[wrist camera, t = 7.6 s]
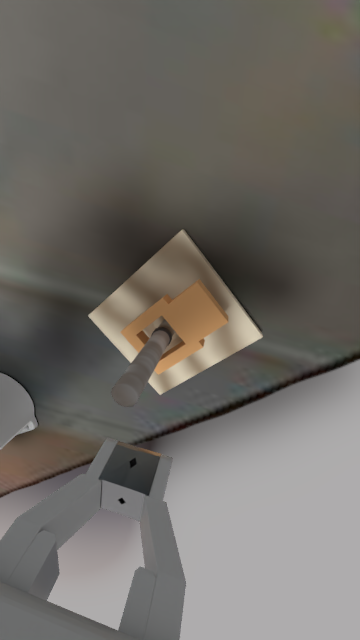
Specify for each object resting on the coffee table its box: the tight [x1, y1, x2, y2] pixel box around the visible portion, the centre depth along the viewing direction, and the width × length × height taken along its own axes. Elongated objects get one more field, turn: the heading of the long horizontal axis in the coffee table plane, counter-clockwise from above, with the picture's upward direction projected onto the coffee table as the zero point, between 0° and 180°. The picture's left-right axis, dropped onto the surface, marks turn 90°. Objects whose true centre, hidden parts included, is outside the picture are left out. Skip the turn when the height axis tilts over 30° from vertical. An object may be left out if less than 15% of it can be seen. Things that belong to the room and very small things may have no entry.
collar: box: [120, 279, 228, 375], centre depth 29 cm, size 12×8×2 cm, turn 130°
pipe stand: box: [88, 230, 263, 407], centre depth 27 cm, size 20×18×17 cm
